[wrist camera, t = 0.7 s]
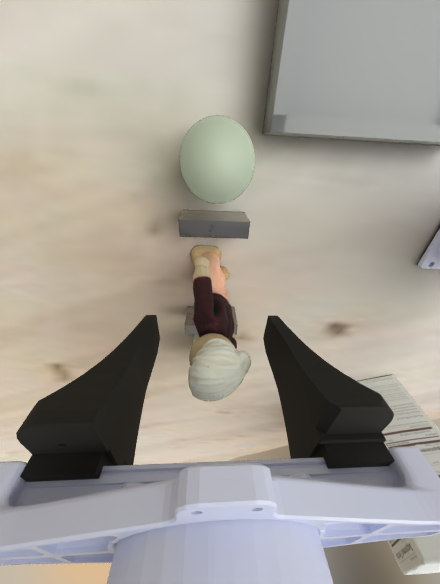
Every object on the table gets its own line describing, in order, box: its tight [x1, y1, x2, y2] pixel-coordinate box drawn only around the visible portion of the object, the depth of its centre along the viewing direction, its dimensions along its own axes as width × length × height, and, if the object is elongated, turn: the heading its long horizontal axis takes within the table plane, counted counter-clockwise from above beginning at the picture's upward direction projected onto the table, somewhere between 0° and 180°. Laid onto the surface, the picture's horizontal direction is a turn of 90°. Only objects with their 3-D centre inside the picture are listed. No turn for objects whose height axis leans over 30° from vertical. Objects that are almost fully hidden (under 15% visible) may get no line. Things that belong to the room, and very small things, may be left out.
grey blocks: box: [179, 210, 250, 335], centre depth 19 cm, size 5×11×3 cm, turn 177°
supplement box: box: [357, 375, 440, 575], centre depth 27 cm, size 10×9×17 cm
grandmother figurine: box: [188, 245, 251, 401], centre depth 15 cm, size 8×4×13 cm, turn 28°
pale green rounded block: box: [180, 115, 255, 204], centre depth 13 cm, size 4×4×5 cm
